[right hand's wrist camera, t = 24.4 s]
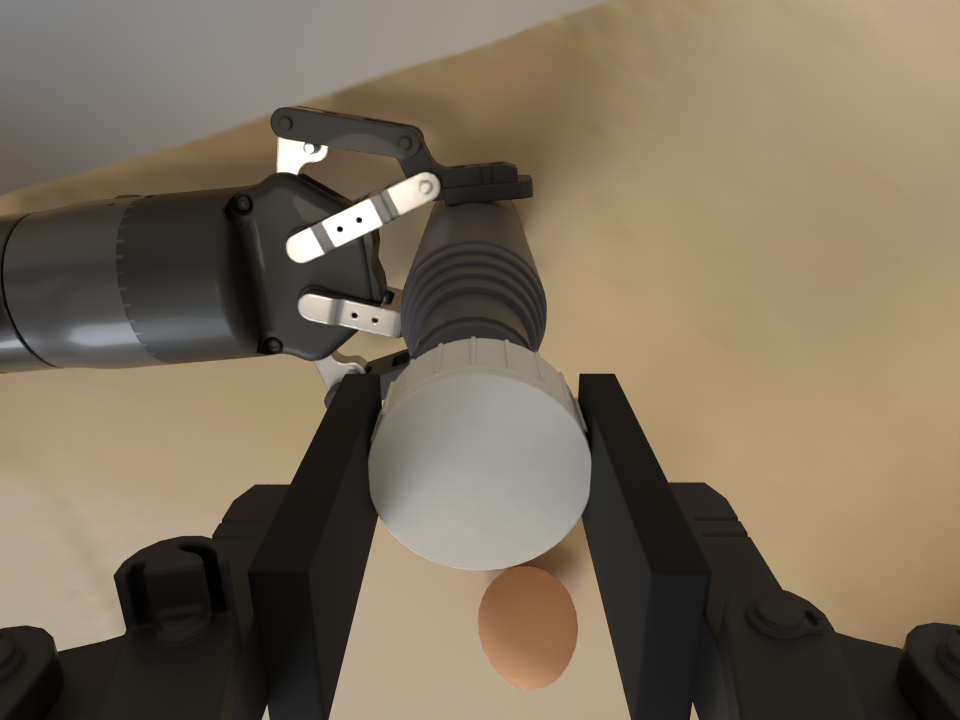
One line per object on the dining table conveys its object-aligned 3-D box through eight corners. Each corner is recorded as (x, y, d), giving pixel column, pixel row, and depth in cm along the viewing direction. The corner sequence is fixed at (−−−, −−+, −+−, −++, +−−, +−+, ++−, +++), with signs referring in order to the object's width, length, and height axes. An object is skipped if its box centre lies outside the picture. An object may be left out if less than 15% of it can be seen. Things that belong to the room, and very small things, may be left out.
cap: (423, 302, 14) (414, 334, 12) (615, 382, 14) (636, 424, 13) (351, 476, 15) (333, 529, 13) (528, 540, 16) (535, 600, 14)
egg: (566, 617, 45) (583, 718, 38) (477, 616, 45) (477, 718, 38) (571, 543, 43) (591, 636, 36) (478, 543, 43) (479, 636, 36)
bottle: (473, 160, 34) (469, 247, 15) (537, 225, 36) (610, 381, 17) (410, 227, 36) (336, 385, 17) (475, 288, 37) (475, 500, 18)
